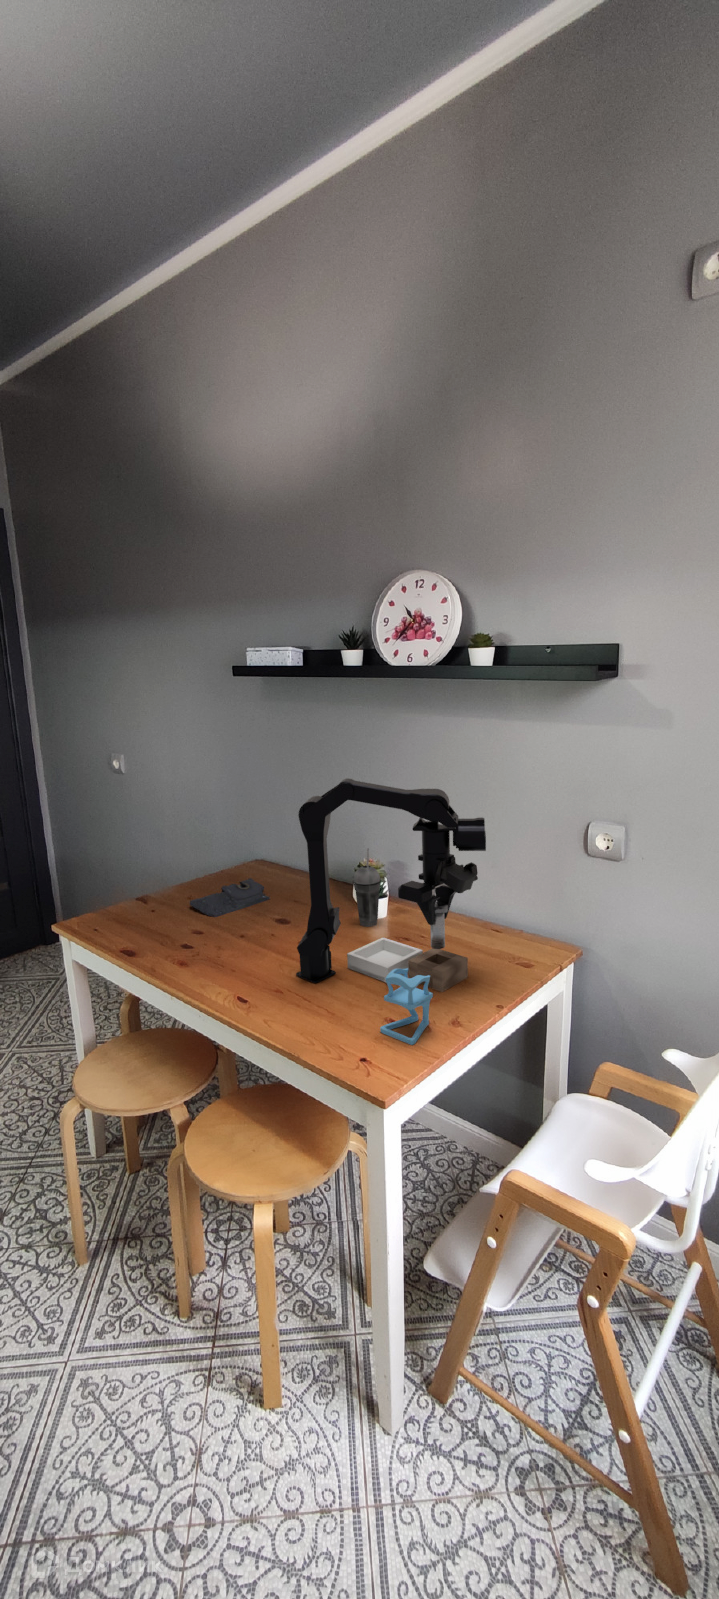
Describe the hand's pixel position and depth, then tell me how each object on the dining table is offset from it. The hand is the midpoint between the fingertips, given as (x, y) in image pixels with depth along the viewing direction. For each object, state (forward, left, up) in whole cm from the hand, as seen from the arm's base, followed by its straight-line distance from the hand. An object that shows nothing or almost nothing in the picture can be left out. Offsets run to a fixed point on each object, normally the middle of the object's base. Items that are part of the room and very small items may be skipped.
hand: (437, 921), depth 155 cm
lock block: (0, 0, -13) cm, 13 cm away
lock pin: (0, 0, -6) cm, 6 cm away
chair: (-21, -9, -13) cm, 26 cm away
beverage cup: (+14, +34, -13) cm, 39 cm away
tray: (-3, +13, -13) cm, 19 cm away
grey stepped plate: (+2, +77, -14) cm, 79 cm away
